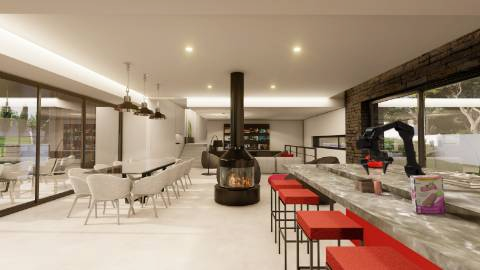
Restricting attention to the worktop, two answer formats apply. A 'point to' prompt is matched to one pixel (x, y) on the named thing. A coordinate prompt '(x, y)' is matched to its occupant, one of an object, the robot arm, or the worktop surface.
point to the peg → (377, 187)
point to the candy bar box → (427, 194)
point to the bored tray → (366, 185)
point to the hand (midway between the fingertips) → (376, 174)
